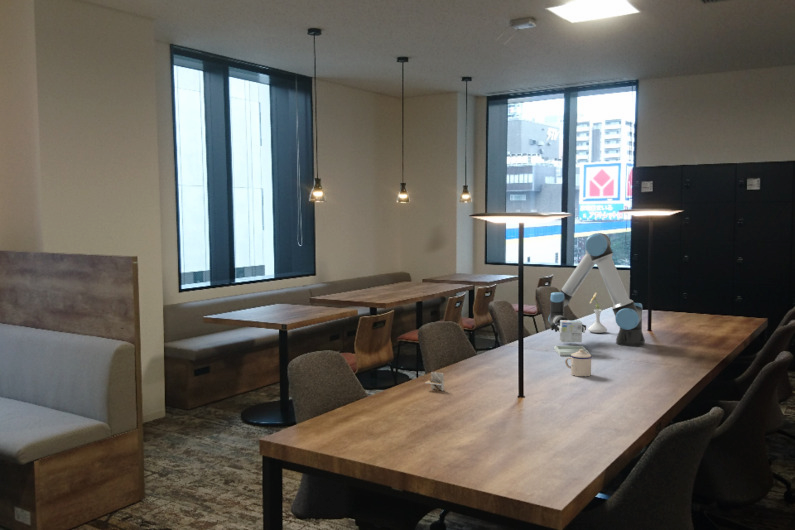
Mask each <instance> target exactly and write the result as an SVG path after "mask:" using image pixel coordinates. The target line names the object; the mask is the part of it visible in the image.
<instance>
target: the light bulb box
mask: <svg viewBox="0 0 795 530" xmlns="http://www.w3.org/2000/svg"><path fill="white" fill-rule="evenodd" d="M582 324H583V322H582V321H581V320H575V319H574V320H573V319H572V320H569V319H568V320H560V327H562V333H560V332H559V340H560V341H559V342H561V343H577V344H578V343H583V340H582V339H583V338H582V337H583V335H582V334H583V332H582Z"/></svg>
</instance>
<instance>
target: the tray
mask: <svg viewBox="0 0 795 530" xmlns="http://www.w3.org/2000/svg"><path fill="white" fill-rule="evenodd" d="M553 348H554V349H553V350H554V351H555V352H556V353H557V355H558V356H559V355H560V356H559V357H571V354H573V353H576V352H577V351H579V349H583V350H584V352H586V353H588V354H590V352H589V350H587V349H586V347H584V346H583V345H554V347H553Z"/></svg>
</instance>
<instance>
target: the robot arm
mask: <svg viewBox="0 0 795 530" xmlns="http://www.w3.org/2000/svg"><path fill="white" fill-rule="evenodd" d="M611 246H612V245H611V239H610V237H609V236H608V235H607V234H605V233H601V232H600V233H599V232H598V233H593V234H590V235H589V236H588V237H587V238H586V240H585V241H584V248H585V254H584V255H583V256H582V258H581V260H580V262H579V263H578V264H577V266H576V267H575V268H574V270H573V272H572V273H571V275H569V277H568V279H567V280H566V282H565V283H564V285H563V286H562V288H561V289H560V291H559V292H558V291H556V292H554V291H553V292H551V293H550V299H549V301H550V304H549V305H550V306H549V308H550V310H549V316H548V319H547V320H548V323H549V324H550V326H551V327H550V330H551V331H554V332H555V333H556V332H558V333H559V334H560V333H562V327H560V320H569V319H568V318H567V317H565V307H567V306H568V305H569V304H570V301H571V300H572V298H573V297H574V296H575V294H576V292H577V291H578V289H579V288H580V286H581V285H582V284H583V282H584V281H585V279H586V278H587V276H588V275H589V274H590V272H591V271H592V269H593V268H594V267H595V265H596V266H597V268H598V271H599V273H600V276H601V278H602V280H603V281H602V282H604V285H605V287H606V290H607V293H608V295H609V297H610V300H611V302H612V307H611V309H612V312H613V314H614V317H615V318H614V319H615V323H616V325H617V326H618V327H619V331H618V333H617V336H616V339H615V341H616V342H615V344H618V345H619V346H627V347H631V346H632V347H640V346H641V347H642V346H645V345H646V339H645V336H644V333H643V304H642V303H640V302H634V300H632V299H630V298H629V295H628V292H627V291H626V288H625V286H624V283H623V282H622V279H621V276H620V274H619V272H618V269H617V267H616V263H614V260H613V255H614V252H613V250H612V248H611ZM586 331H587V324H583V323H582V334H586Z"/></svg>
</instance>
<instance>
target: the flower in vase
mask: <svg viewBox="0 0 795 530" xmlns="http://www.w3.org/2000/svg"><path fill="white" fill-rule="evenodd" d="M597 294H598V292H597V291H596V292H594V294H593V297H592V298H591V299H590V301H589V304H592V303H593V302H594V300H595V302H596V304H595V309H593V312H594V313H595V314H594V315H595V321H594V322H593V324H591V325H590V326H589V327H588V328H587V331H588V332H590V333H593V334H594V333H595V334H596V333H597V334H603V333H606V332H607V331H608V328H607V327H606V326H605V325H604V324H603V323H602V322H601V321H600V318H601V313H602V312H603V310H602V309H599V308H601V307H600V305H599V303H598V301H597V298H596V296H597Z"/></svg>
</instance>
